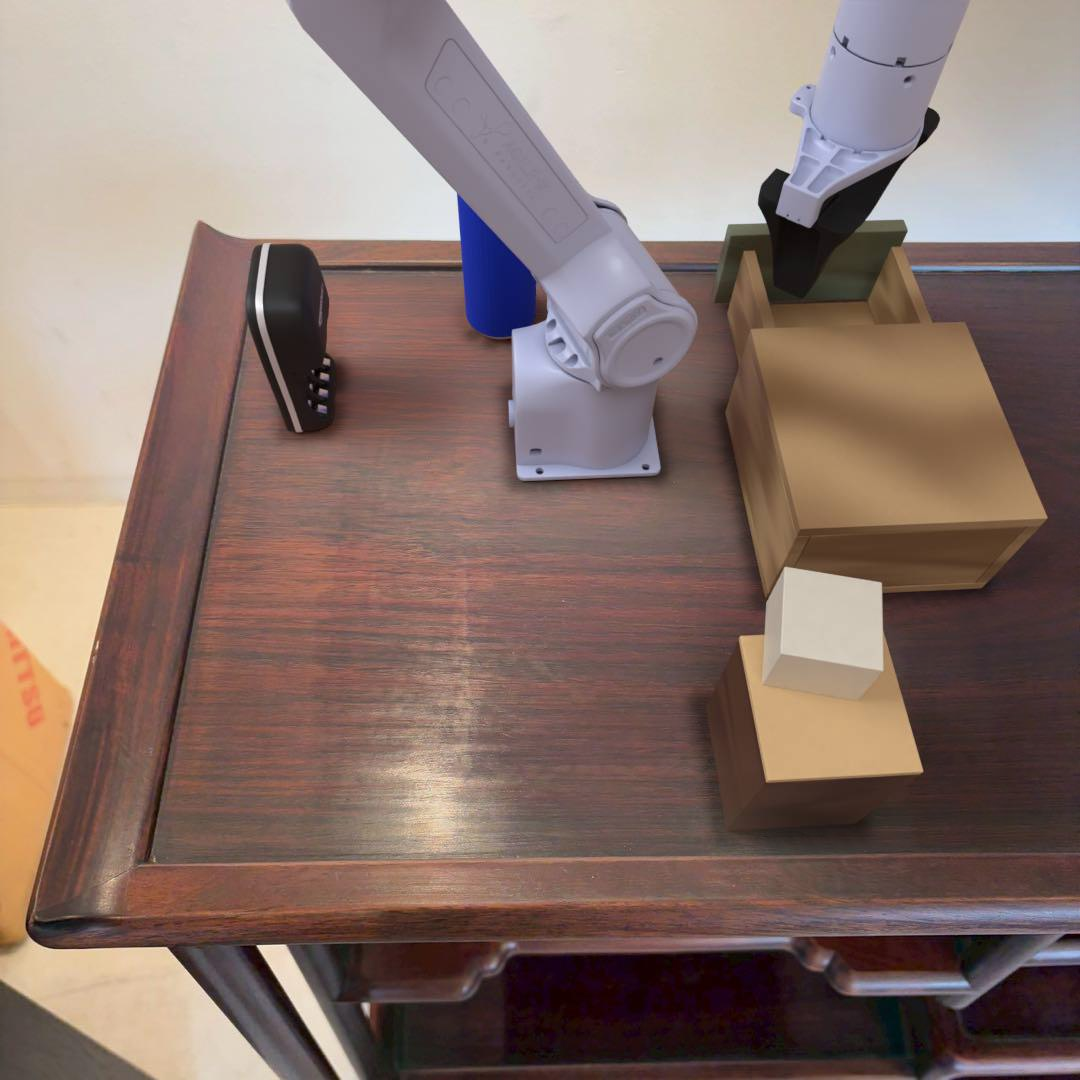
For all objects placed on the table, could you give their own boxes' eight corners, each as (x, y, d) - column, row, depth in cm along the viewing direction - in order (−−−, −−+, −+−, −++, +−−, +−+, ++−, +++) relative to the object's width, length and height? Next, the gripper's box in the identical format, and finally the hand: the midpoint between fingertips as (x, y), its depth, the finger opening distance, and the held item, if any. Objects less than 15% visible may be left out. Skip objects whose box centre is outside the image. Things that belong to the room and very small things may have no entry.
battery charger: (343, 435, 60) (308, 310, 50) (287, 437, 60) (240, 313, 50) (348, 358, 64) (316, 227, 54) (294, 360, 64) (252, 230, 54)
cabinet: (724, 412, 62) (750, 328, 55) (916, 405, 62) (965, 321, 55) (764, 598, 54) (800, 528, 47) (982, 588, 55) (1048, 518, 48)
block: (761, 684, 41) (780, 653, 38) (766, 602, 44) (784, 565, 40) (857, 701, 41) (884, 671, 38) (856, 617, 43) (882, 582, 40)
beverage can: (539, 296, 67) (542, 112, 54) (532, 346, 65) (534, 165, 52) (471, 290, 67) (459, 106, 55) (461, 340, 65) (446, 159, 52)
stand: (726, 831, 47) (765, 783, 39) (705, 705, 51) (738, 639, 43) (855, 823, 47) (920, 774, 40) (826, 699, 51) (880, 632, 43)
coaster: (765, 783, 39) (768, 780, 39) (738, 639, 43) (739, 635, 43) (920, 774, 40) (924, 771, 39) (880, 632, 43) (883, 628, 43)
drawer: (708, 281, 67) (724, 212, 62) (869, 276, 68) (899, 207, 62) (743, 435, 60) (765, 371, 54) (923, 428, 60) (963, 365, 55)
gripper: (880, -55, 47) (814, 166, 59) (747, 78, 42) (703, 294, 53) (1008, -14, 45) (914, 207, 57) (887, 132, 39) (809, 345, 51)
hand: (819, 253), depth 55 cm, fingers open, 7 cm apart
